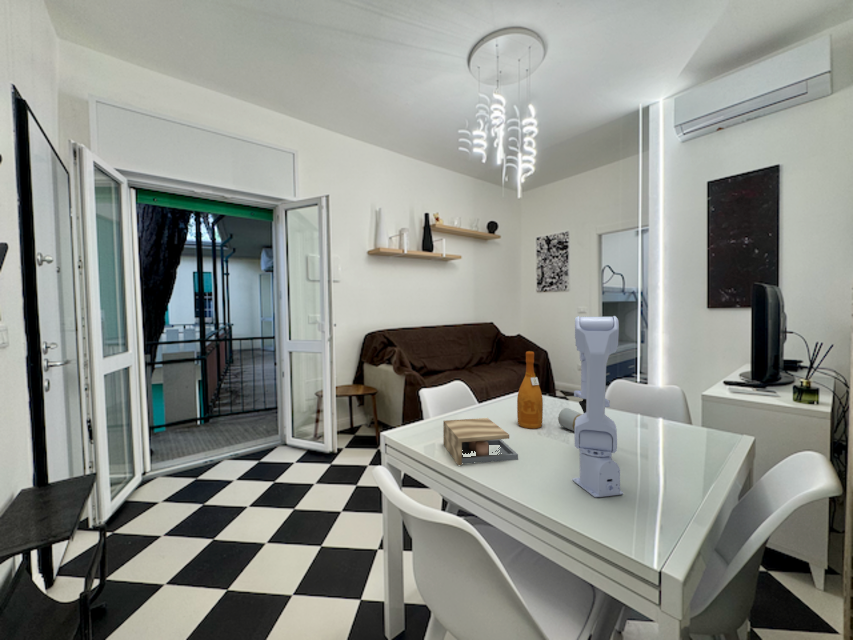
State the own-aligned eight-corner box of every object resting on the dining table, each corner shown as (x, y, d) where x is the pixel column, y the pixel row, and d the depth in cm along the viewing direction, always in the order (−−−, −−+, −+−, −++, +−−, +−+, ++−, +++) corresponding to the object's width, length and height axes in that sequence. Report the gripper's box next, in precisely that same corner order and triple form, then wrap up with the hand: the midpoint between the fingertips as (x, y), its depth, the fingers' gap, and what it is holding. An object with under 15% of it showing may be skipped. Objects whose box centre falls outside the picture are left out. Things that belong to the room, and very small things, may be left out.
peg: (483, 449, 117) (482, 435, 117) (474, 451, 115) (473, 437, 115) (475, 446, 120) (475, 432, 120) (466, 448, 118) (465, 435, 118)
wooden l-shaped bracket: (509, 461, 108) (509, 434, 108) (458, 466, 105) (458, 438, 105) (487, 441, 125) (487, 417, 125) (443, 444, 122) (443, 420, 122)
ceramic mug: (573, 434, 132) (574, 413, 132) (557, 428, 140) (557, 408, 140) (594, 431, 137) (594, 411, 137) (577, 425, 144) (578, 406, 144)
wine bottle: (516, 428, 140) (516, 352, 139) (517, 421, 149) (517, 349, 149) (542, 430, 137) (543, 352, 136) (542, 423, 146) (542, 350, 146)
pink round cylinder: (491, 458, 110) (491, 443, 110) (480, 460, 108) (480, 445, 108) (483, 453, 114) (483, 439, 114) (473, 456, 112) (473, 441, 112)
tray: (518, 462, 109) (518, 454, 109) (461, 466, 106) (461, 458, 106) (500, 445, 123) (500, 438, 123) (450, 449, 120) (450, 442, 120)
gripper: (618, 385, 106) (618, 430, 106) (587, 377, 120) (587, 417, 120) (597, 386, 104) (597, 432, 104) (568, 377, 118) (568, 418, 119)
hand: (590, 424), depth 112 cm, fingers closed
